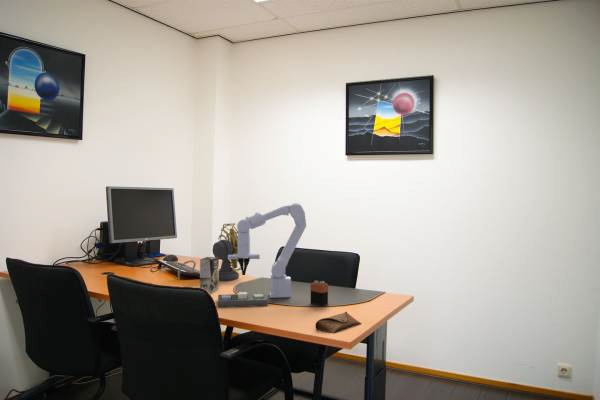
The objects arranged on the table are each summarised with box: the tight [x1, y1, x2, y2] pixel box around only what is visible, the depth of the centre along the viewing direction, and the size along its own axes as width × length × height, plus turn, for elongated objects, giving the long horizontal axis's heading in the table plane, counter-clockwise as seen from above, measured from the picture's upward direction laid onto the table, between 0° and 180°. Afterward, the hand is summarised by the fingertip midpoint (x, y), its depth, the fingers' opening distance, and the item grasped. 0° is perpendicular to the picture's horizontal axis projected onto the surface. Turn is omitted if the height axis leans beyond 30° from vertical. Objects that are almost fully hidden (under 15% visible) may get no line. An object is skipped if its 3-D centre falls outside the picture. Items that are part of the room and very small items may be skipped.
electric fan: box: [177, 222, 244, 282], centre depth 262 cm, size 26×32×30 cm
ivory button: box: [237, 291, 248, 299], centre depth 213 cm, size 4×4×3 cm
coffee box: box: [199, 256, 220, 294], centre depth 235 cm, size 9×6×16 cm
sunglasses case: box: [315, 311, 362, 335], centre depth 180 cm, size 18×7×7 cm
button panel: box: [217, 293, 269, 308], centre depth 213 cm, size 21×12×2 cm, turn 99°
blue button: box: [221, 294, 231, 299], centre depth 212 cm, size 4×4×3 cm
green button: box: [253, 293, 263, 298], centre depth 214 cm, size 4×4×3 cm
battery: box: [310, 280, 329, 307], centre depth 212 cm, size 4×7×10 cm, turn 47°
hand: (243, 274), depth 225 cm, fingers closed
